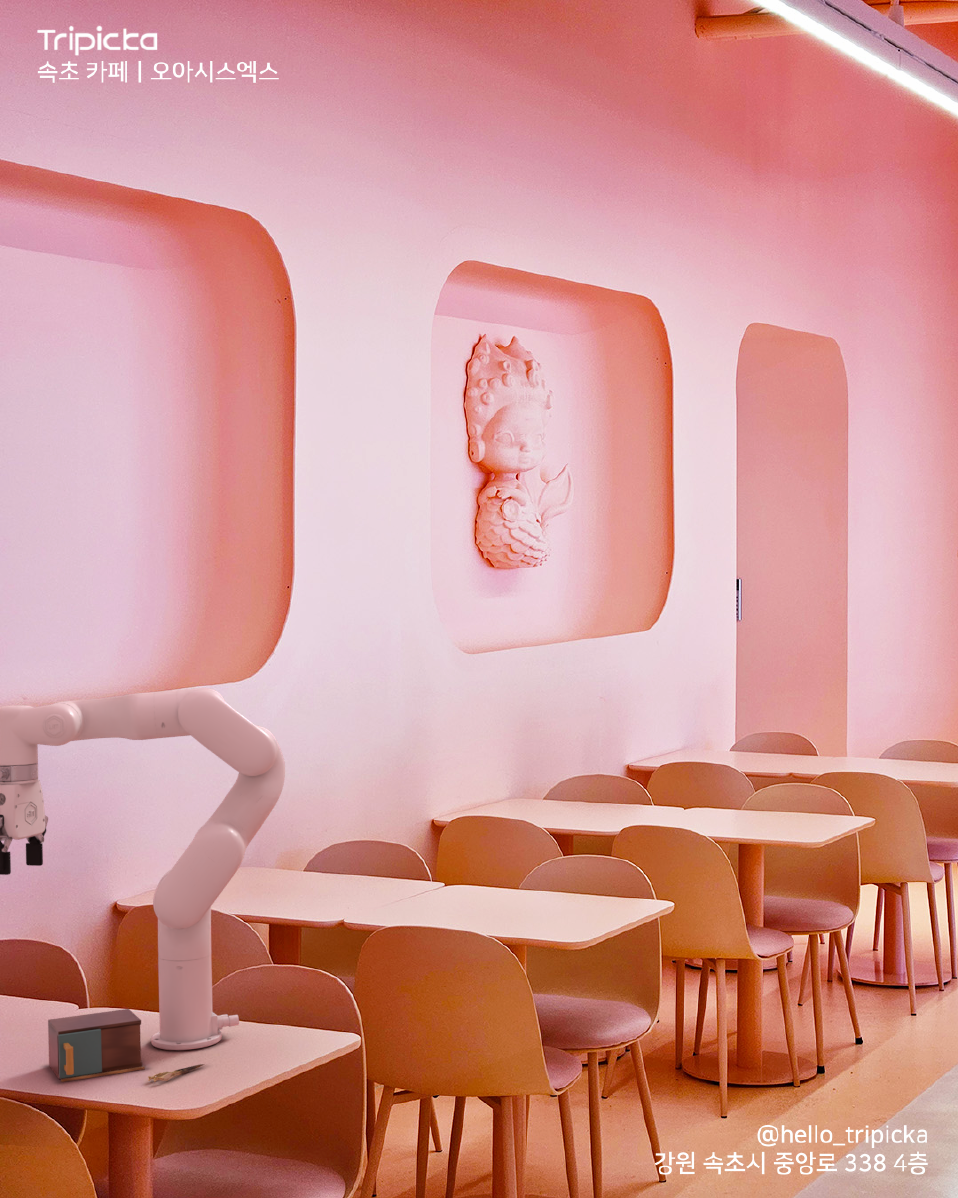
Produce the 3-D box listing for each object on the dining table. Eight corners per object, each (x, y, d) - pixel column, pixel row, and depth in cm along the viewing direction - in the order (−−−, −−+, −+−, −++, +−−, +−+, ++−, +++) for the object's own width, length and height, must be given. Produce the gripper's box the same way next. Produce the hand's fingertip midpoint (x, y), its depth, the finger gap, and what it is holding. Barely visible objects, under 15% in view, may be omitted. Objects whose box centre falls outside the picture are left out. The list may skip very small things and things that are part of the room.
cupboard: (129, 1054, 271) (128, 1008, 271) (144, 1069, 261) (143, 1022, 261) (49, 1066, 265) (48, 1019, 265) (61, 1082, 255) (60, 1034, 255)
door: (101, 1071, 259) (100, 1028, 259) (106, 1077, 255) (105, 1034, 256) (59, 1078, 256) (58, 1034, 256) (64, 1084, 252) (63, 1040, 252)
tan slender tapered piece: (201, 1066, 263) (201, 1058, 263) (212, 1068, 261) (211, 1060, 261) (146, 1083, 253) (145, 1075, 253) (156, 1086, 252) (156, 1077, 252)
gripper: (5, 779, 265) (7, 878, 265) (61, 769, 282) (64, 862, 282) (-32, 779, 268) (-30, 877, 268) (26, 769, 284) (29, 861, 284)
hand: (18, 869), depth 275 cm, fingers open, 9 cm apart
